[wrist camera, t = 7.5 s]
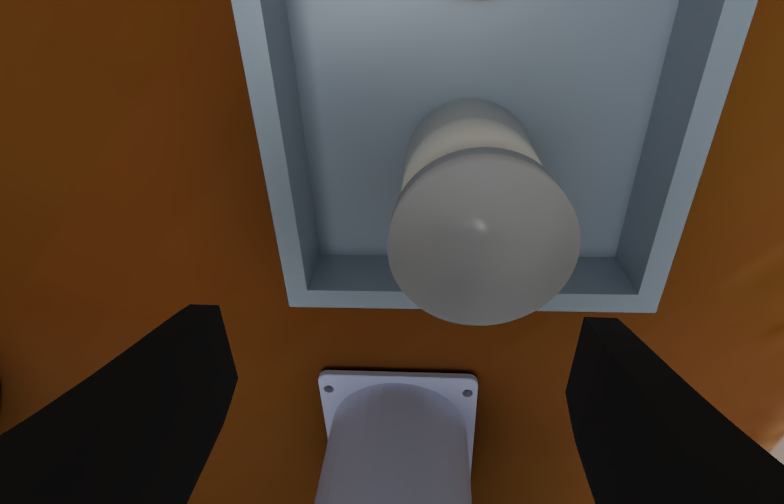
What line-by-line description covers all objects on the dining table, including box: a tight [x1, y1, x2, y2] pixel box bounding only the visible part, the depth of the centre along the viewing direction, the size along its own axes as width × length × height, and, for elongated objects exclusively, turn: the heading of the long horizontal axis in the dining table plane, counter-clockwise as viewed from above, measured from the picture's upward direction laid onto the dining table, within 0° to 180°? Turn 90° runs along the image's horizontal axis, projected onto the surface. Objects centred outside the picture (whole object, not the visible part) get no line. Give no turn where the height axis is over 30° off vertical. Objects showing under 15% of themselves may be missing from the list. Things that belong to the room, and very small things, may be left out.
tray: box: [231, 0, 758, 313], centre depth 15 cm, size 16×14×3 cm
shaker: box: [387, 98, 581, 326], centre depth 14 cm, size 5×5×6 cm
